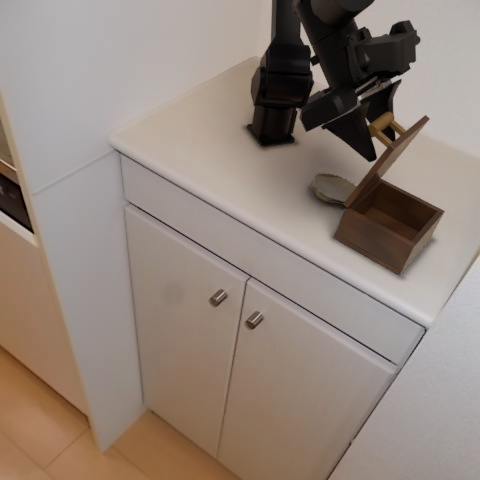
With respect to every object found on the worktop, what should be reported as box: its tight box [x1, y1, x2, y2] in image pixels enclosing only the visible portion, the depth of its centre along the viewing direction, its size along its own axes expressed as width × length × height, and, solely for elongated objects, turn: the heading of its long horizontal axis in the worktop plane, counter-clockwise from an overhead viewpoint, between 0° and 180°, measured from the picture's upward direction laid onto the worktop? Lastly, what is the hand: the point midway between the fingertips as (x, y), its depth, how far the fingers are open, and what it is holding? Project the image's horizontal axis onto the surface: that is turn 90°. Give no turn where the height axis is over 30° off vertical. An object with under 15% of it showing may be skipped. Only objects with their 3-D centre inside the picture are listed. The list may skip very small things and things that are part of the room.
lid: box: [343, 112, 431, 208], centre depth 69 cm, size 11×11×5 cm
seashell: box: [309, 172, 358, 205], centre depth 80 cm, size 8×3×8 cm
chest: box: [333, 177, 445, 276], centre depth 74 cm, size 11×11×5 cm
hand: (383, 152), depth 69 cm, fingers open, 5 cm apart
